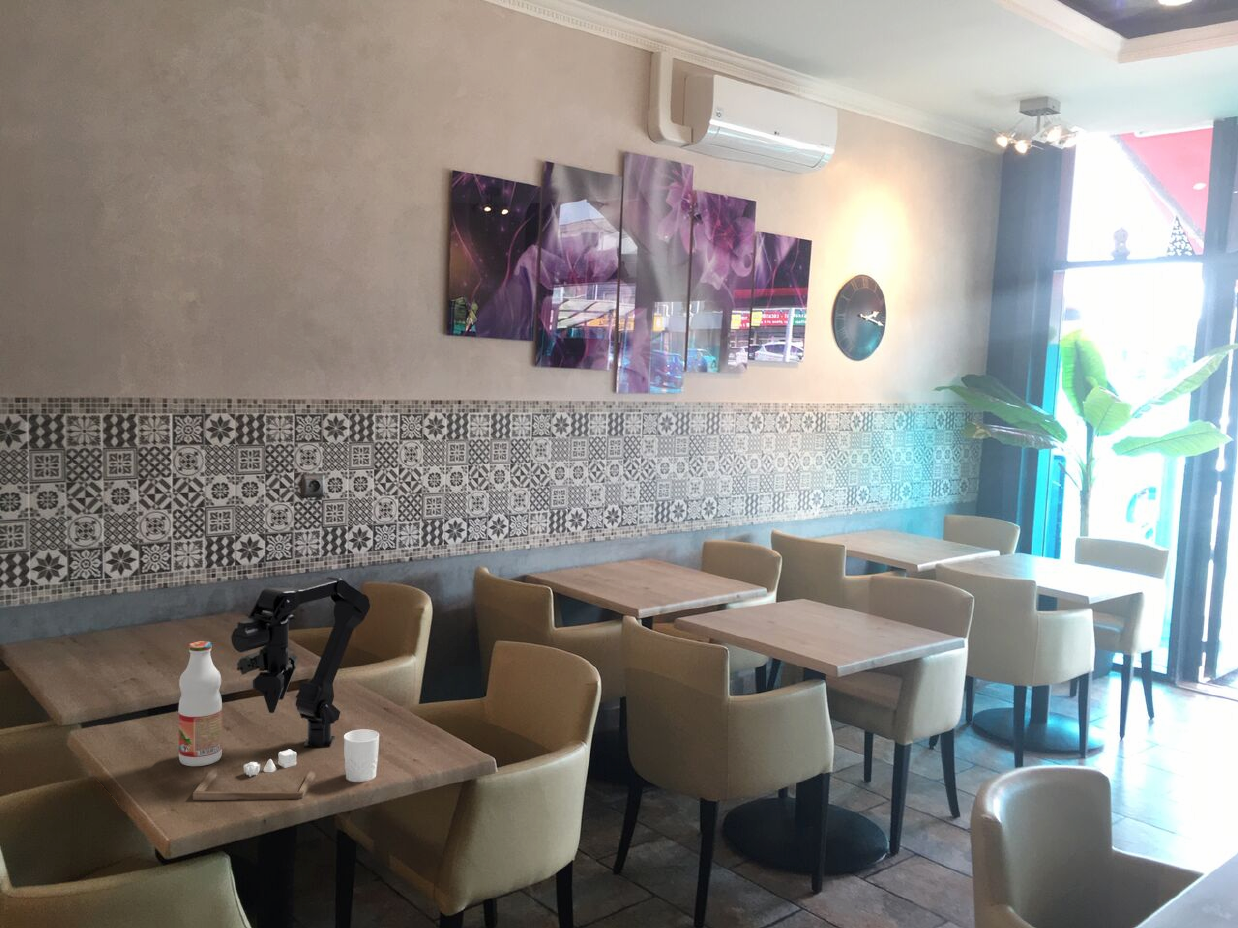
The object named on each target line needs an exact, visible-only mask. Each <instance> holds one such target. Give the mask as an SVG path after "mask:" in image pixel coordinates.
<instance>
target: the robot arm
mask: <svg viewBox="0 0 1238 928" xmlns="http://www.w3.org/2000/svg"><path fill="white" fill-rule="evenodd" d="M325 598H329V599H330V601H331V602H332V603H334V607H333V610H332V612H333V613H332V614H333V619H334V624H333V626H332V629H331V632H330V634H329V637H328V639H327V641H326V644H325V646H324V649H323V652H322V655H321V657H320V660H319V663H318V665H317V667H316V669H315V672H314V674H313V677H312V678H311V679H310V680H309V681H308V682H306V681H303V682H301V684H300V685H299V689H298V692H297V694H296V695H295V699H296V701H295V707H296V710H297V712H298V713H299V716H300V718H301V719H305V720H307V739H306V740H305V742H304V744H303V747H304V748H331V746H332V744H333V743H334V741H335V739H336V736H335V735H332V725H333V724H334V723H336V722H337V721H339V719H340V716H341V710H339V708H338V707H336V706H335V705H334V704H333V703H334V699H335V693H334V692H335V691H334V686H333V684H334V681H335V679H336V676H337V674H338V673H337V672H338V671H339V667H340V665H341V663H342V661H343V657H344V655H345V652H346V651H347V650H346V649H347V647H348V645H349V642H350V639H351V637H352V634H353V631H354V630H355V629H356V628H357V627H358V626H359V625H360V624H361V623H362V622H363V621H364V620H365V618H366V616H367V615H368V612H369V610H370V608H371V602H370V598H369V597H368V596H367V594H364V593H362V592H361V591H359V590H357V589H356V588H355V587H354V586H352V585H350V584H349V583H348V582H347V581H346V580H345V579H343V578H341V577H337V576H336V577H335V576H329V577H328V576H327V577H326V578H325V579H324V578H323V579H319V580H317V581H312V582H309V583H306V584H300V585H298V586H295V587H267V588H264V589H263V590H262V591H261V593H260V595H259V597H258V599H257V601H256V602H255V604H254V606H253V608H252V610H251V611H250V614H249V615H248V618H247V619H248V620H245V621H244V620H242V621H238V622H237V627H235V628H234V630H233V632H232V634H231V636H230V637H231V638H230V639H231V644H232V646H233V649H235V650H236V652H238V653H244V652H248V651H252V650H255V649H258V648H259V649H260V650H258V651H255V652H253V653H249V654H247V655H244V656H241V657H240V658H239V659H238V660H237V662H236V666H237V667H236V670H237V671H240V674H241V675H246V674H247V673H249V672H252V671H255V670H258V672H259V673H258V674H257V675H256V676H255V677H254V678H253V680H252V689H253V690H256V692H257V691H258V692H260V693H262V695H263V698H264V701H265V704H266V707H267V711H268V713H270V714H274V713H275V711H276V709H277V705H278V703H279V701H281V700H284V697H285V696H286V693H287V690H288V688H289V685H290V683H291V680H292V678H293V676H294V674H295V671H296V668H297V666H298V656H297V655H296V654H295V653H289V651H290V649H291V643H289V623H291V622H293V621H296V620H297V617H296V616H294V615H293V614H292V613H293V612H295V611H296V610H297V609H298V608H299V606H302V605H304V604H308V603H311V602H315V601H319V600H321V599H325ZM266 613H267V614H266ZM270 614H271V615H270ZM290 665H291V666H290Z"/></svg>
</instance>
